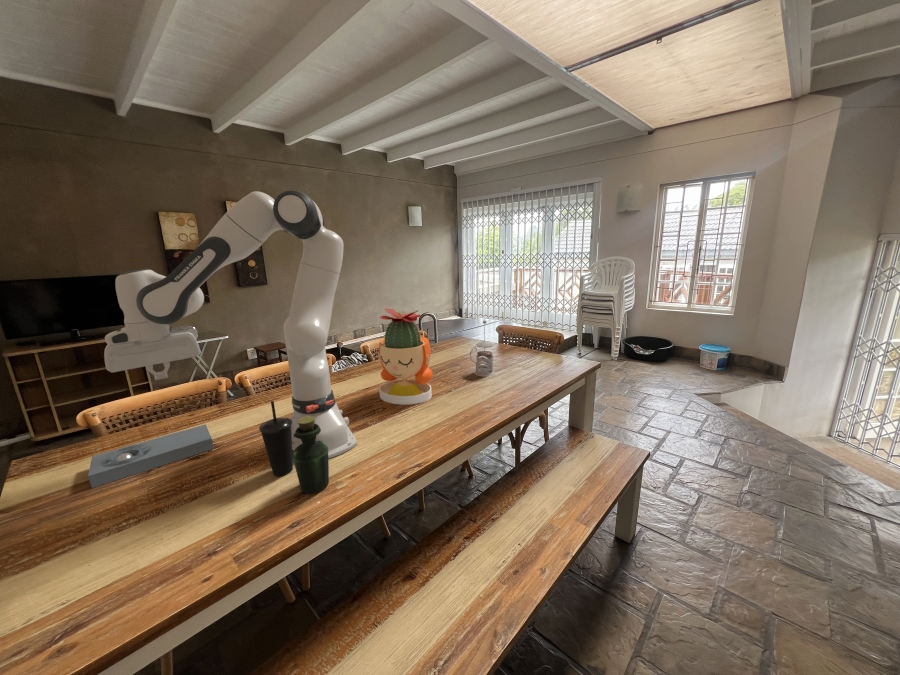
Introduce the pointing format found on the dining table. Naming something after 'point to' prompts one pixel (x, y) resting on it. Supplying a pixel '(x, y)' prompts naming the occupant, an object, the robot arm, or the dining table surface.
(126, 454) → the ball
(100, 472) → the grey flat block
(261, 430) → the drinking cup
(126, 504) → the dining table surface
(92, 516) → the dining table surface
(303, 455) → the potion bottle
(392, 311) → the potted cactus
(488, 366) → the french press
